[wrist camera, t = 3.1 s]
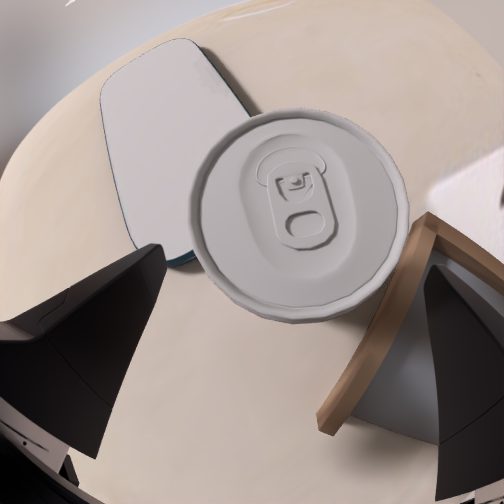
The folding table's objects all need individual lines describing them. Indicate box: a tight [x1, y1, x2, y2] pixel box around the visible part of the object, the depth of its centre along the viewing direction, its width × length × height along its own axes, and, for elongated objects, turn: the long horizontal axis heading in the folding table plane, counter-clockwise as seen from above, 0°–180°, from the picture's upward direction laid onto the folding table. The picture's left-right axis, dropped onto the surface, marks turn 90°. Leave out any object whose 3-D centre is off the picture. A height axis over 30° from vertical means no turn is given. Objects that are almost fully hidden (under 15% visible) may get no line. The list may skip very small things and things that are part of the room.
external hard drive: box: [100, 38, 252, 266], centre depth 20 cm, size 24×12×2 cm, turn 26°
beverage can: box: [187, 108, 409, 324], centre depth 11 cm, size 5×5×12 cm
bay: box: [316, 212, 504, 445], centre depth 13 cm, size 14×14×2 cm
